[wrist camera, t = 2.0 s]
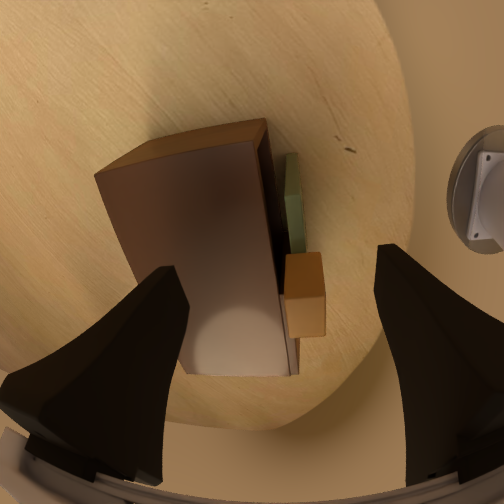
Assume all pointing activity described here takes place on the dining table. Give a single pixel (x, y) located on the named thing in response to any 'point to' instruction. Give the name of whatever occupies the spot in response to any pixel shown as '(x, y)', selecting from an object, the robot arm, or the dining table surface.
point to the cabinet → (211, 242)
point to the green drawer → (301, 265)
